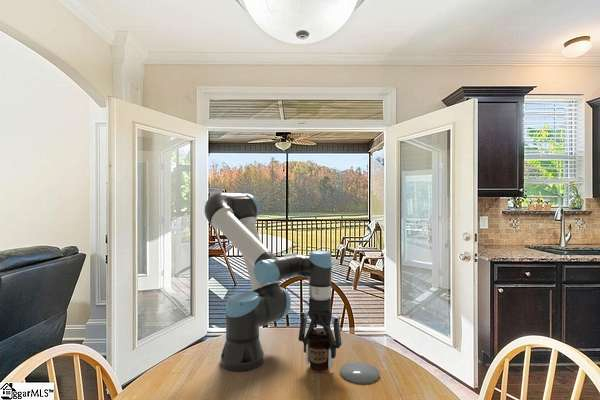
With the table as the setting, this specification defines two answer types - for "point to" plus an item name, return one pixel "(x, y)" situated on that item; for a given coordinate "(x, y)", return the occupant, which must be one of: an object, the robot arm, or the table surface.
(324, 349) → the coffee cup
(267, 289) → the robot arm
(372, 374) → the grey domed puck
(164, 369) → the table surface
